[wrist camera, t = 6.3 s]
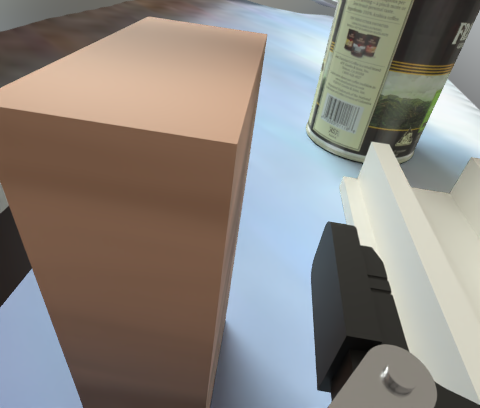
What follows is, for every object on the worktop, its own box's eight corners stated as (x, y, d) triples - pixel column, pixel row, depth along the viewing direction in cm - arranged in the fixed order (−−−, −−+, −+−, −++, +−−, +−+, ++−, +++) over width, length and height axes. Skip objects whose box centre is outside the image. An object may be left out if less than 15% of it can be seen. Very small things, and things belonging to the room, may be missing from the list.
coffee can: (412, 132, 36) (486, -30, 28) (413, 179, 28) (516, -28, 20) (316, 108, 38) (356, -48, 30) (292, 144, 31) (338, -53, 22)
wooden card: (196, 481, 11) (237, 144, 4) (104, 465, 11) (-30, 102, 4) (225, 319, 16) (267, 34, 9) (160, 308, 16) (148, 16, 9)
